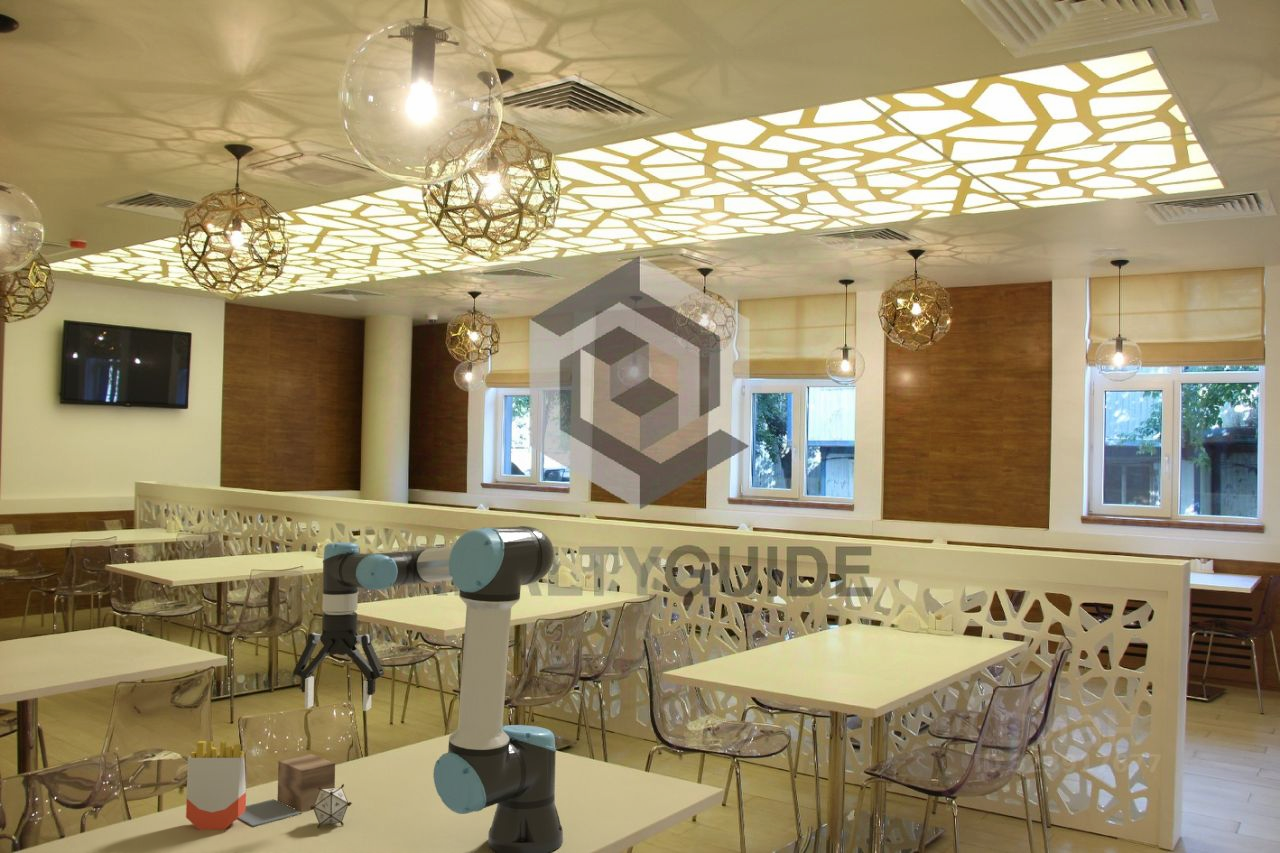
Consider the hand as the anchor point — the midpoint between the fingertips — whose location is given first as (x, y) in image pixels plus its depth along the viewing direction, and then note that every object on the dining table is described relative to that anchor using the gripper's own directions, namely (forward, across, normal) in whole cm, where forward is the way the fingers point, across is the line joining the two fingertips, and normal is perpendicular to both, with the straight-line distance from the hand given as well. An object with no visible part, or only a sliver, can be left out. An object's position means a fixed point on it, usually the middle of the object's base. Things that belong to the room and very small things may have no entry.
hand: (337, 708), depth 216 cm
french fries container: (+23, +22, +11) cm, 33 cm away
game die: (+23, -2, +7) cm, 24 cm away
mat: (+23, +16, +3) cm, 28 cm away
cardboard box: (+23, +10, -6) cm, 25 cm away
